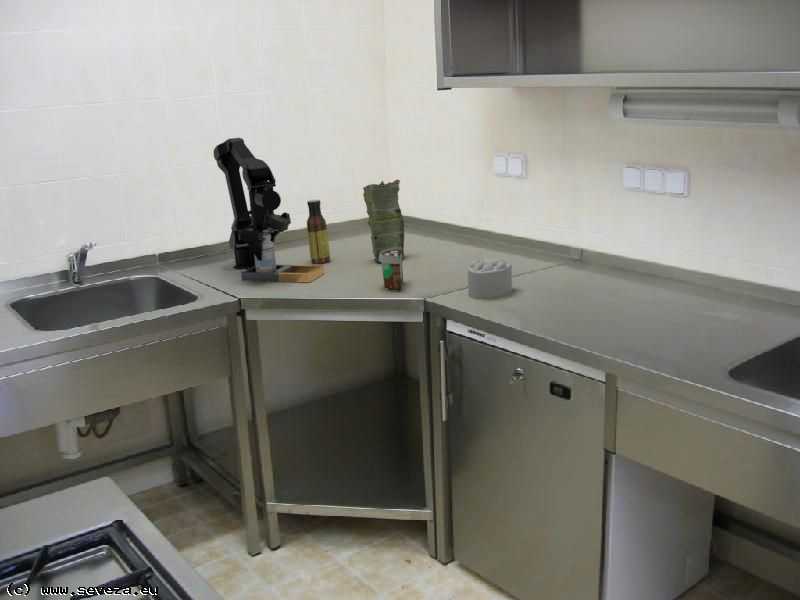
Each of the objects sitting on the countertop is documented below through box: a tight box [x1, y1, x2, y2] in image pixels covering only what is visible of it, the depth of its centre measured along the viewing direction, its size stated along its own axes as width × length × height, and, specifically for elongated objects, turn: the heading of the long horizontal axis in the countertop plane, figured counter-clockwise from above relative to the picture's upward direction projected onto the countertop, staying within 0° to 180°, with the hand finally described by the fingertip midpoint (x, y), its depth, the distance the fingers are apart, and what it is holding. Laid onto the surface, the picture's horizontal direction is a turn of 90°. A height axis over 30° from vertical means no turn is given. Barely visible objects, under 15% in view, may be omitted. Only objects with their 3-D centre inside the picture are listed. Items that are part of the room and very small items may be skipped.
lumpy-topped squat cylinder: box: [467, 257, 513, 300], centre depth 223 cm, size 10×13×9 cm
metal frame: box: [240, 263, 325, 283], centre depth 253 cm, size 22×11×2 cm, turn 72°
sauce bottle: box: [306, 199, 331, 264], centre depth 267 cm, size 7×6×20 cm
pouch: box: [362, 178, 405, 264], centre depth 265 cm, size 11×12×25 cm
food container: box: [379, 247, 404, 292], centre depth 234 cm, size 12×6×10 cm, turn 177°
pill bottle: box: [254, 233, 277, 272], centre depth 253 cm, size 6×6×11 cm
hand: (264, 257), depth 253 cm, fingers closed on pill bottle, 6 cm apart
